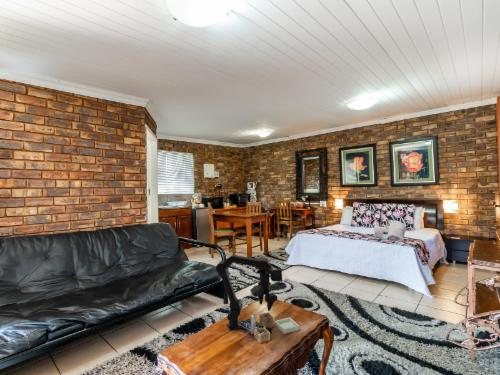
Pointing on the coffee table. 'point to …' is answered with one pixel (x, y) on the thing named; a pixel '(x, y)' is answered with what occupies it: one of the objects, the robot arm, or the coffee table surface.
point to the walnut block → (266, 320)
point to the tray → (286, 325)
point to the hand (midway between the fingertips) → (264, 307)
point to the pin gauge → (253, 323)
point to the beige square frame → (262, 335)
